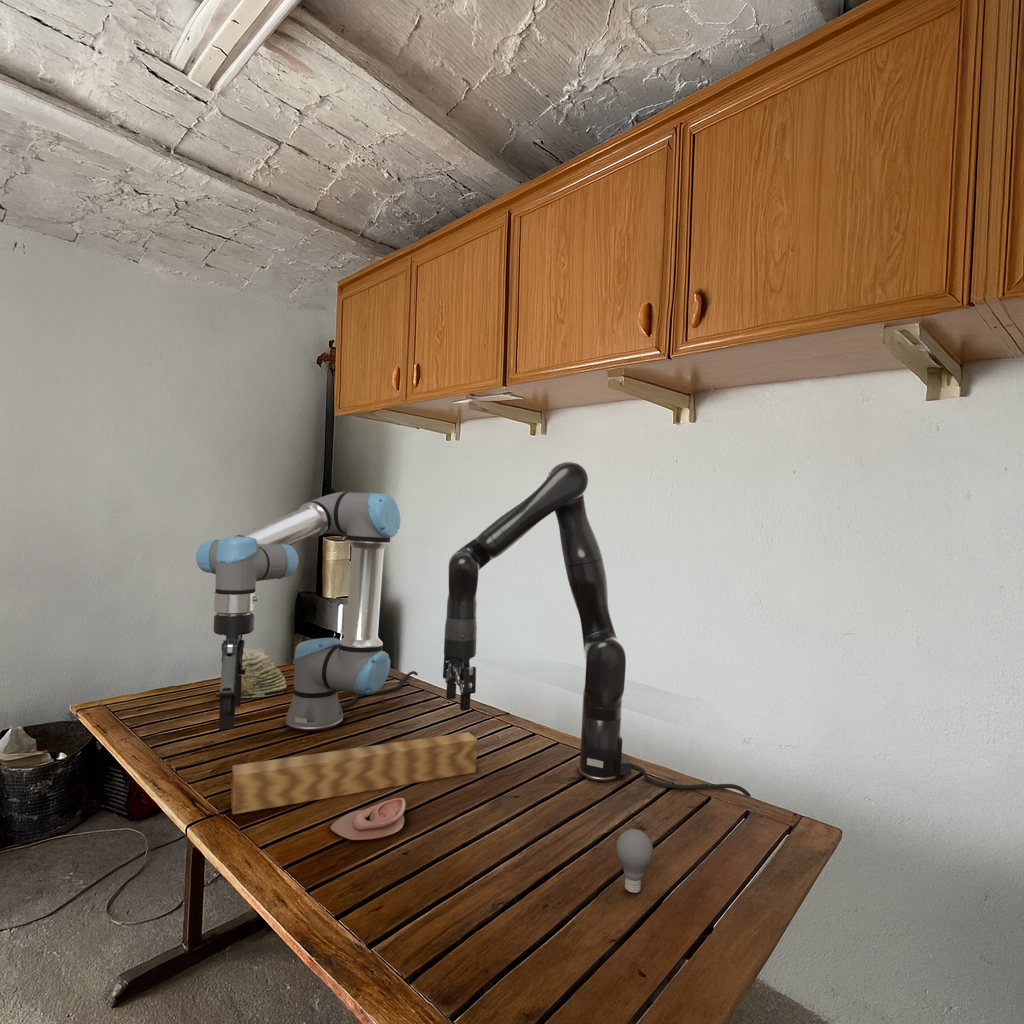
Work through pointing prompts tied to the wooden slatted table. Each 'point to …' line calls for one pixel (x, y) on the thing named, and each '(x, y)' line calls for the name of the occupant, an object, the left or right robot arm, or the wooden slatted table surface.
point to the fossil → (260, 675)
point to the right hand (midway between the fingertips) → (457, 704)
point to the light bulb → (634, 857)
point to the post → (350, 771)
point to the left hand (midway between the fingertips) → (230, 717)
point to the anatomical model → (372, 821)
